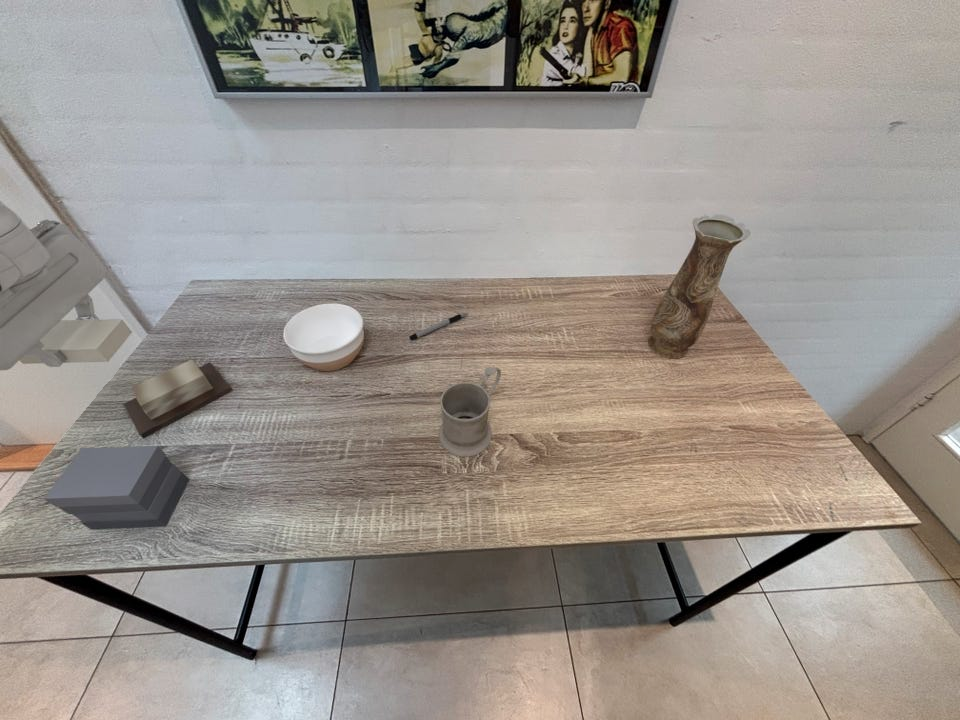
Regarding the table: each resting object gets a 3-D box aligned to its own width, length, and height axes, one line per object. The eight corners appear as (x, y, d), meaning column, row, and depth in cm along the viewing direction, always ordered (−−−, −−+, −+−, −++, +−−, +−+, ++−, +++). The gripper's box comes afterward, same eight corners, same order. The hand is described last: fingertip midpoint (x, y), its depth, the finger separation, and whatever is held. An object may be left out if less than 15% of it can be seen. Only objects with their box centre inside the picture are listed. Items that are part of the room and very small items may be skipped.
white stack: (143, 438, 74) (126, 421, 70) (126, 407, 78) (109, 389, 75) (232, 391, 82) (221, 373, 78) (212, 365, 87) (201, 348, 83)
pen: (409, 339, 95) (408, 334, 94) (466, 313, 102) (466, 309, 101) (411, 342, 94) (411, 337, 93) (469, 316, 101) (469, 311, 100)
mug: (467, 466, 71) (467, 425, 63) (427, 435, 76) (423, 393, 67) (516, 417, 79) (523, 375, 71) (478, 391, 84) (480, 349, 75)
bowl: (384, 351, 91) (378, 323, 86) (323, 392, 82) (313, 364, 77) (339, 321, 98) (332, 294, 93) (279, 356, 89) (267, 328, 84)
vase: (700, 354, 93) (768, 232, 72) (665, 367, 90) (725, 244, 69) (667, 327, 100) (721, 208, 79) (633, 338, 97) (680, 218, 76)
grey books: (90, 529, 62) (43, 498, 55) (120, 481, 68) (80, 448, 61) (166, 526, 63) (128, 495, 56) (189, 479, 68) (158, 445, 61)
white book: (22, 364, 54) (7, 350, 53) (53, 333, 59) (40, 320, 57) (108, 361, 55) (96, 348, 53) (132, 332, 59) (122, 318, 57)
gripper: (28, 213, 53) (98, 298, 63) (-126, 312, 39) (-5, 402, 49) (79, 212, 54) (140, 297, 64) (-56, 310, 39) (50, 400, 49)
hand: (76, 344), depth 56 cm, fingers closed on white book, 6 cm apart
